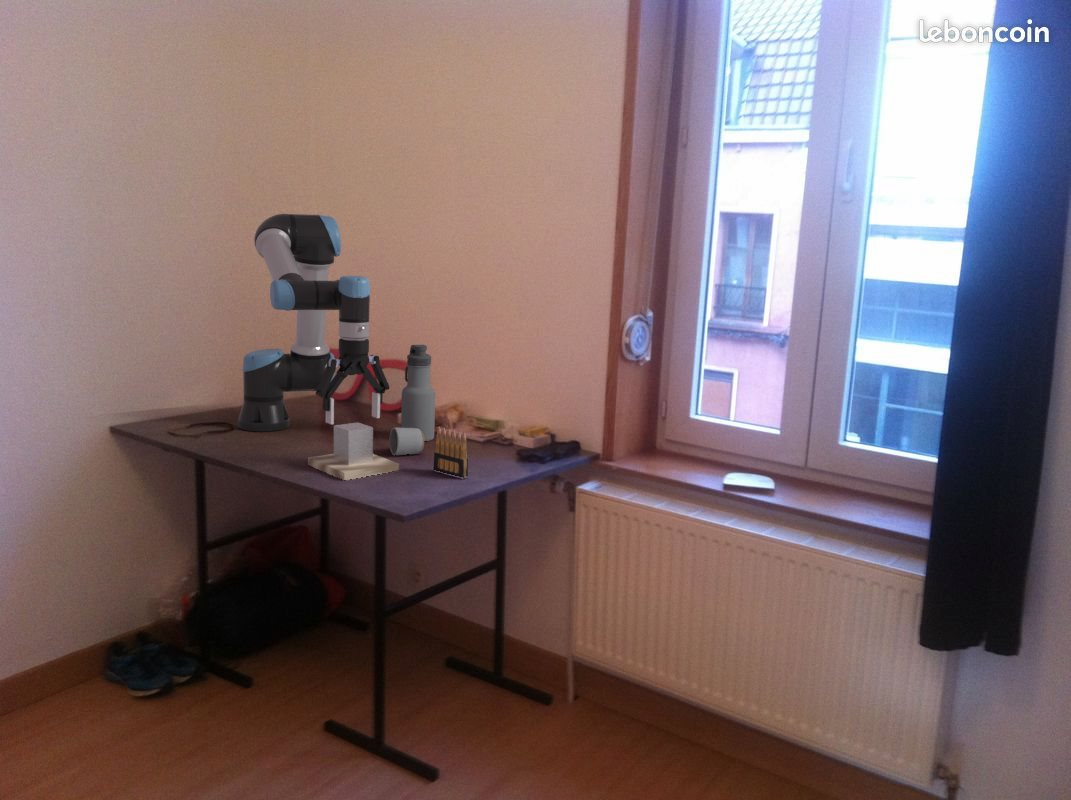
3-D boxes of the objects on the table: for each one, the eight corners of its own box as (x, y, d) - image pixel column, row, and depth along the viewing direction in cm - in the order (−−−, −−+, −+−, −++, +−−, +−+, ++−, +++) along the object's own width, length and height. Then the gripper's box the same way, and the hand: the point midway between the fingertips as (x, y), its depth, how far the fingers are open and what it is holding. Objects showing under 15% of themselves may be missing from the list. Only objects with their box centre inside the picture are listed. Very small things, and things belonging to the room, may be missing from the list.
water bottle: (397, 435, 275) (399, 343, 269) (429, 434, 278) (431, 342, 273) (405, 443, 265) (406, 347, 260) (437, 442, 269) (440, 347, 263)
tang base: (308, 464, 238) (307, 435, 236) (361, 456, 248) (361, 427, 247) (344, 480, 225) (344, 449, 223) (398, 471, 235) (399, 441, 234)
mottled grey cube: (333, 459, 236) (333, 425, 235) (357, 455, 241) (358, 422, 240) (348, 465, 231) (348, 430, 230) (372, 461, 236) (373, 427, 234)
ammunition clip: (433, 471, 237) (434, 426, 235) (438, 470, 238) (439, 425, 236) (463, 479, 230) (464, 433, 228) (468, 478, 232) (469, 432, 230)
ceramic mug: (425, 456, 252) (426, 428, 251) (397, 458, 248) (397, 430, 247) (412, 447, 261) (412, 421, 260) (384, 450, 257) (385, 423, 256)
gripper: (317, 343, 219) (316, 429, 223) (403, 337, 236) (402, 417, 240) (301, 338, 225) (301, 422, 229) (387, 333, 241) (386, 412, 246)
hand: (353, 420), depth 235 cm, fingers open, 13 cm apart
